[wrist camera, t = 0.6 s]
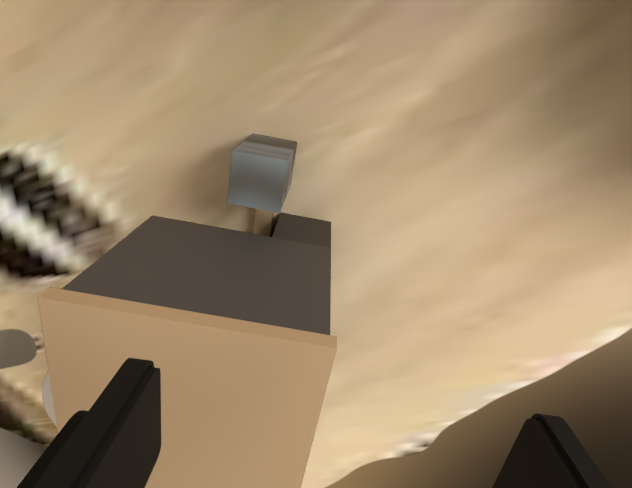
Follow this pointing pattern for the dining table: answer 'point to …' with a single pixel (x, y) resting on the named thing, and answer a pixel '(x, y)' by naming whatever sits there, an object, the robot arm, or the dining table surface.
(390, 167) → the dining table surface
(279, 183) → the grey block with handle
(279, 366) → the cabinet
